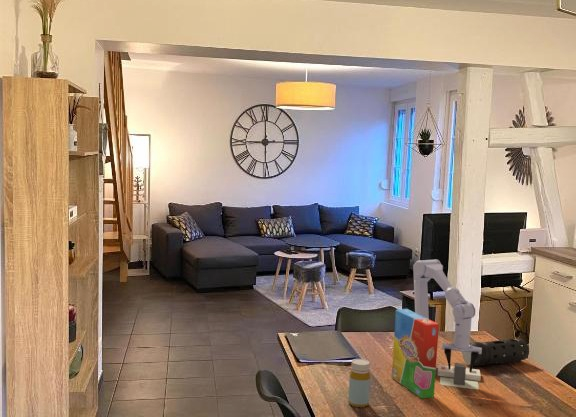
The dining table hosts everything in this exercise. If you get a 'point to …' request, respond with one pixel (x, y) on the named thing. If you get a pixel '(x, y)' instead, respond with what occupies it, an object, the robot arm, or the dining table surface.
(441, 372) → the socket strip
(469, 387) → the sage mat
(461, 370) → the block
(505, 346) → the muzzle brake
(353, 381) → the bottle
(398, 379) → the game box
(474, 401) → the dining table surface
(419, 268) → the robot arm
